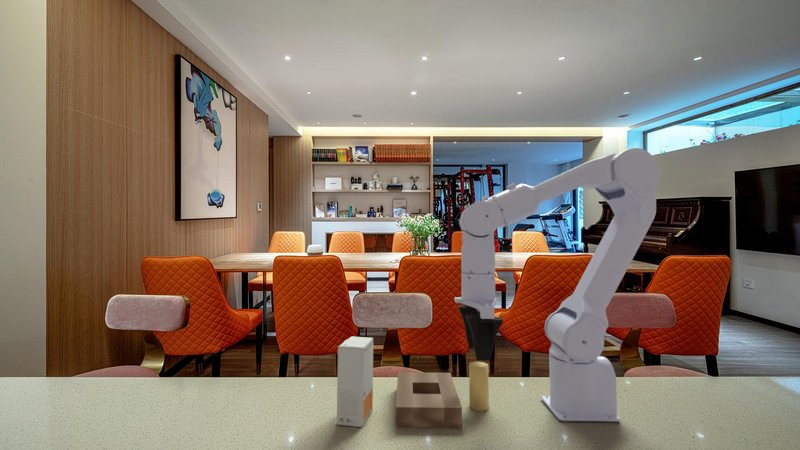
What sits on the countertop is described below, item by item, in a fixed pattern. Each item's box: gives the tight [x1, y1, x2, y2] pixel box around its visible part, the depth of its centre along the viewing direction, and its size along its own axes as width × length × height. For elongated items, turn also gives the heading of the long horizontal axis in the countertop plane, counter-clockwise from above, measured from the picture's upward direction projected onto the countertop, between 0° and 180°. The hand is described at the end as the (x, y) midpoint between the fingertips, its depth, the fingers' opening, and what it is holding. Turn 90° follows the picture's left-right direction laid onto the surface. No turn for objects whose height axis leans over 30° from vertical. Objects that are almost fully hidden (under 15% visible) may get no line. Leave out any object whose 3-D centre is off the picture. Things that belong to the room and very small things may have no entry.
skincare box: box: [336, 335, 374, 428], centre depth 57 cm, size 6×4×12 cm
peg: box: [468, 361, 490, 412], centre depth 60 cm, size 3×3×7 cm
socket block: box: [395, 371, 463, 429], centre depth 60 cm, size 10×14×3 cm
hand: (478, 352), depth 61 cm, fingers open, 7 cm apart
